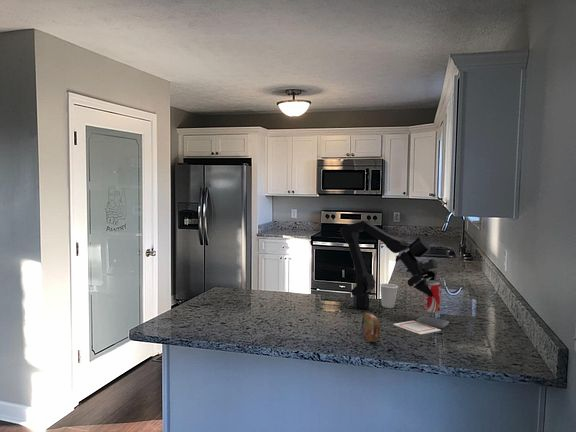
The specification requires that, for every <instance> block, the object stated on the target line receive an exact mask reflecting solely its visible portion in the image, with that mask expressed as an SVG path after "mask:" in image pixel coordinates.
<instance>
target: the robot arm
mask: <svg viewBox="0 0 576 432" xmlns="http://www.w3.org/2000/svg"><path fill="white" fill-rule="evenodd" d="M339 231H340V233H341V236H342V239H343V240H344V241H345V243H346V244H347V245H348V249H349V253H350V255H351V259H352V263H353V265H354V270H355V273H356V276H355V284H356V285H355V286H354V288H352V289H351V291H350V292H351V295H352V297H353V299H352V305H350V306H351V308H354V309H355V310H357V311H358V310H363V311H364V310H371V308H370V294H372V291H373V290H374V289H375V287H376V281H375V277H374V274H370V273H369V271H368V270H367V267H366V266H367V265H366V263H365V259H364V256H363V253H362V250H361V246H360V243H359V238H360V233H361V232H366V233H367V234H369V235H371V236H372V237H374V238H375V239H377V240H378V241H380V242H381V243H383V244H384V246H385V247H386V248H387V249H388V250H389V251H390V252H392V253H393V254H397V255H395V260H394V261H395V263H398V262H401V263H402V264H403V265H404V267H405V268H406V272H407V273H410V275H411V277H410V278H408V279H407V285H408V286H409V288H413V289H416V290H418V291H420V292H421V293H422V294H423V293H425V294H427V295H428V296H430V297H432V296H433V294H432V292H431V290H430V289H429V287H428V285H427V284H426V281H428V280H434V281H437V276H438V274H439V273H438V271H436V269H437V268H438V264H439V262H438V261H437V260H435V259H434V258H431V259H428V262H422V261H419V260H418V259H417V257H418V258H422V257H423V256H424V255H425V254H427V253H428V252H429V251H430V250H431V249H432V248H431V246H430V243H429V242H427V241H426V240H424V239H423V238H422V237H421V236H418V237H417V238H415V240H414V241H413V242H411V243H409V242H407V240H405V239H403V238H400V237H398V236H394V235H392V234H389V233H387V232H386V231H384V229H381V228H379V227H377V226H376V225H375V224H373V223H372V222H371V221H369V220H361V221H359V222H355V223H345V224H343V225H342V226H341V228H340V230H339ZM406 250H407V251H406ZM398 253H401V254H398Z"/></svg>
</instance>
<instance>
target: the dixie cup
mask: <svg viewBox="0 0 576 432" xmlns="http://www.w3.org/2000/svg"><path fill="white" fill-rule="evenodd" d="M379 286H380V297H381V299H380V300H381V307H382V306H383V308H386V309H393V308H395V303H396V299H397V294H398V288H399V286H398V285H397V284H393V283H380V285H379Z"/></svg>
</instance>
